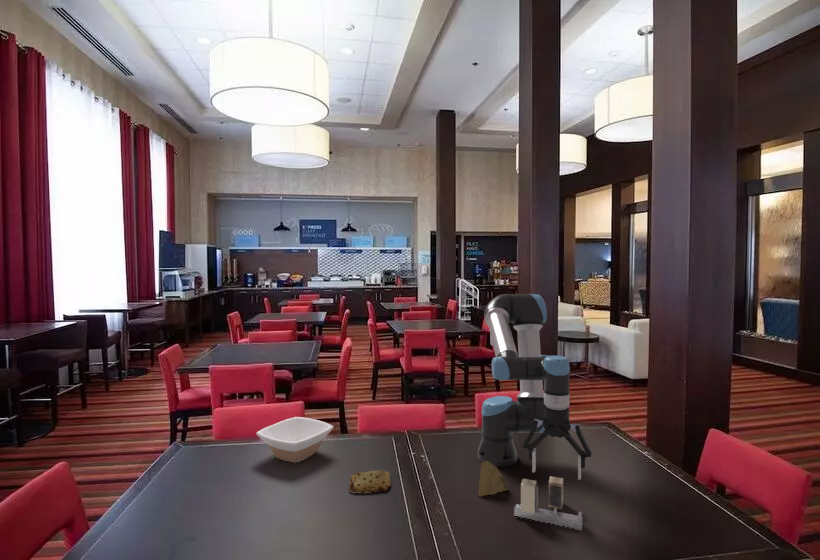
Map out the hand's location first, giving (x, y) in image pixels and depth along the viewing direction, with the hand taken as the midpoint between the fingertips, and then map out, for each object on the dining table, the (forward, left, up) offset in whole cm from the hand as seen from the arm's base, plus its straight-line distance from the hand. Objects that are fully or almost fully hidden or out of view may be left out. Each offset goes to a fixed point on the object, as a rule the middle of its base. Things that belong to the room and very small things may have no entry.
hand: (556, 474), depth 143 cm
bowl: (-99, +1, -10) cm, 100 cm away
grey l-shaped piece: (-2, -10, -10) cm, 14 cm away
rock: (-20, +1, -10) cm, 23 cm away
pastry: (-61, -9, -11) cm, 63 cm away
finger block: (0, 0, -10) cm, 10 cm away
